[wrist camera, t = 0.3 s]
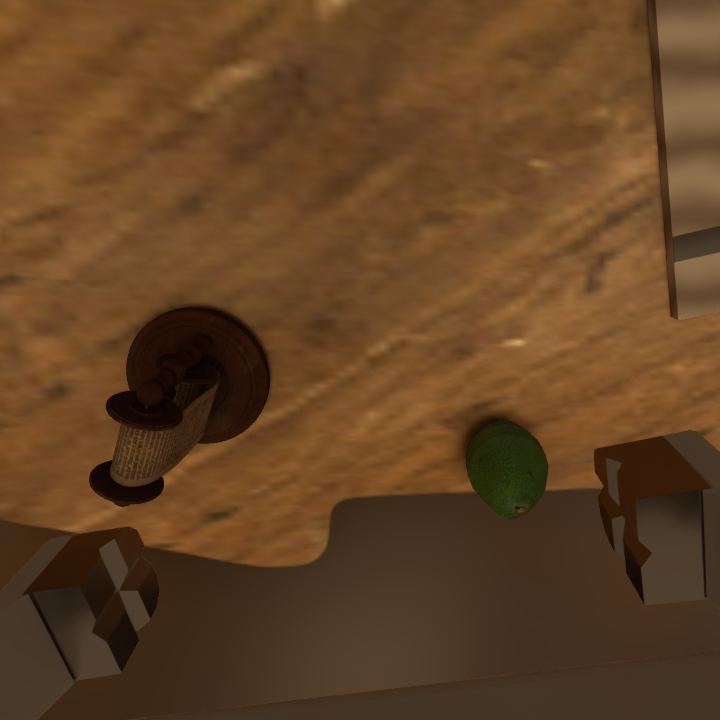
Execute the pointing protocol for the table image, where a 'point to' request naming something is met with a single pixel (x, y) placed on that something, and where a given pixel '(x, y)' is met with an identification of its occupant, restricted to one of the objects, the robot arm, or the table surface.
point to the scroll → (180, 398)
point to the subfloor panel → (689, 147)
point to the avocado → (507, 468)
